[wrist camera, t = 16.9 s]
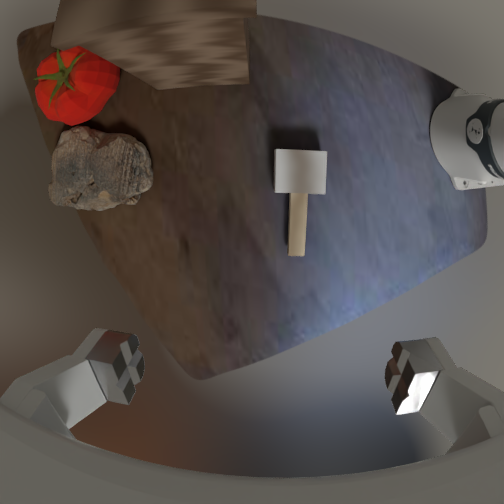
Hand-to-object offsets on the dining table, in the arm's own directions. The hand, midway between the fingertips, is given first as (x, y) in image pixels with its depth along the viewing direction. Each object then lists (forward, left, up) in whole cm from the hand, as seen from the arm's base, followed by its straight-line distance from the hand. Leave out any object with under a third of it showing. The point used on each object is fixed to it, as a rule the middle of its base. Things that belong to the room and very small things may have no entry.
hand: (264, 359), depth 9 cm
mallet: (-6, +1, -38) cm, 38 cm away
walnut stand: (+8, -20, -37) cm, 43 cm away
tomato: (+27, -19, -38) cm, 50 cm away
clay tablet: (+25, -5, -38) cm, 46 cm away
